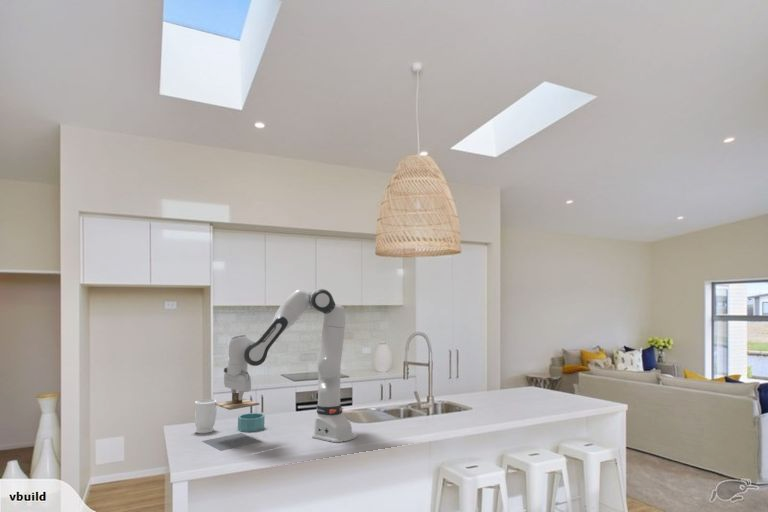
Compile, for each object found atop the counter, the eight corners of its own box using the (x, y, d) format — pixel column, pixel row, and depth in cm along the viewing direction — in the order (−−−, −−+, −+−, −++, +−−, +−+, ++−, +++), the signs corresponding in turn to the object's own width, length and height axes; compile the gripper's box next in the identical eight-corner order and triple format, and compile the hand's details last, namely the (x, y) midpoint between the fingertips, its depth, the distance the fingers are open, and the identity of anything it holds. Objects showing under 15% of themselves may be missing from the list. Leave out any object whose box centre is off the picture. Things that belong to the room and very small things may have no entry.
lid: (259, 404, 229) (259, 393, 230) (229, 409, 219) (230, 398, 219) (243, 400, 240) (243, 389, 240) (214, 405, 229) (215, 393, 230)
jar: (206, 435, 236) (207, 403, 237) (189, 433, 239) (190, 402, 240) (220, 429, 246) (221, 399, 247) (203, 428, 249) (204, 398, 250)
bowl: (268, 429, 247) (269, 416, 247) (245, 434, 238) (245, 420, 238) (256, 424, 256) (256, 412, 257) (233, 429, 247) (233, 416, 248)
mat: (261, 442, 223) (261, 441, 223) (220, 451, 209) (220, 450, 210) (241, 434, 238) (241, 433, 238) (201, 442, 224) (201, 441, 224)
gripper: (254, 371, 226) (254, 401, 224) (233, 367, 240) (233, 395, 239) (242, 372, 221) (241, 403, 220) (221, 368, 236) (221, 397, 235)
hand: (237, 399), depth 230 cm, fingers closed on lid, 3 cm apart
